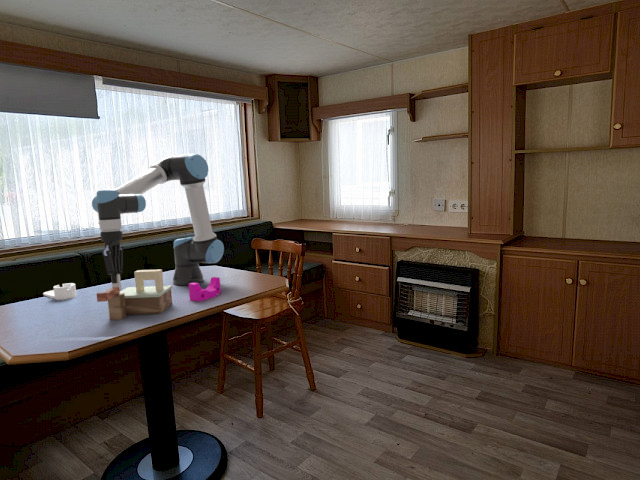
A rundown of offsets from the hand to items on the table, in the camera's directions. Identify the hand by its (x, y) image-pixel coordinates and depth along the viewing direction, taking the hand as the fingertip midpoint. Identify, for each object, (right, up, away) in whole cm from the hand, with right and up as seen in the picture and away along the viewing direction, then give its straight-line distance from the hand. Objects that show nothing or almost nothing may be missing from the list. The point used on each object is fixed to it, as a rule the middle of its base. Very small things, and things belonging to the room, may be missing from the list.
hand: (117, 290), depth 165 cm
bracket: (-45, -8, +37) cm, 58 cm away
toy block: (+28, -6, +28) cm, 40 cm away
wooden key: (0, -2, -6) cm, 6 cm away
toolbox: (+6, -9, +7) cm, 14 cm away
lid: (+6, -2, +9) cm, 11 cm away
